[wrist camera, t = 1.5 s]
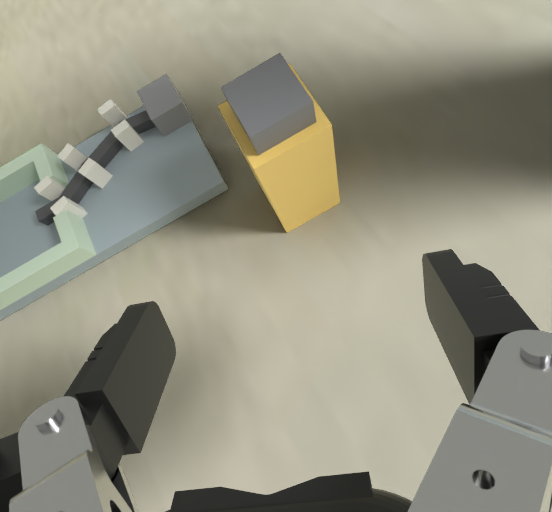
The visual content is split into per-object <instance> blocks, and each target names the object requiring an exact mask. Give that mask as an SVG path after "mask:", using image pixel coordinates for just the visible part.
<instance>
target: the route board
mask: <svg viewBox="0 0 552 512" xmlns="http://www.w3.org/2000/svg"><path fill="white" fill-rule="evenodd" d="M137 93H138V95H139V97H140V99H141V101H142V103H143V105H144V106H142V107H141V108H139V109H137V110H136V111H134V112H132V113H131V114H129V115H127V116H126V115H125V114H124V113H123V112H122V111H121V110H120V109H119V108H118V106H117V105H116V104H115V103H114V102H113V101H112V100H111V99H110V100H108V101H107V102H106V103H104V104H103V105H102V106H100V107H99V108H98V109H97V110H98V112H99V113H100V115H101V116H102V117H103V118H104V119H105V120H106V121H107V122H108V123H109V124H110V126H108V127H107V128H105V129H103V130H102V131H100V132H98V133H97V134H95V135H93V136H92V137H90V138H88V139H86V140H85V141H83V142H81V143H80V144H78V145H76V146H75V147H73V146H71V145H70V144H68V143H67V145H66V146H65V147H64V148H63V150H62V151H61V152H60V153H59V155H58V154H56V153H55V152H53V151H52V150H51V149H49V148H48V147H46V146H45V145H44V144H42V143H41V144H39V145H37V146H36V147H34V148H32V149H31V150H29V151H27V152H26V153H24V154H22V155H20V156H19V157H17V158H15V159H14V160H12V161H10V162H9V163H7V164H5V165H4V166H2V167H0V320H2V319H4V318H6V317H7V316H9V315H11V314H13V313H14V312H16V311H18V310H20V309H21V308H23V307H25V306H26V305H28V304H30V303H32V302H33V301H35V300H37V299H39V298H40V297H42V296H44V295H46V294H47V293H49V292H51V291H53V290H54V289H56V288H58V287H59V286H61V285H63V284H65V283H66V282H68V281H70V280H72V279H73V278H75V277H77V276H79V275H80V274H82V273H84V272H86V271H87V270H89V269H91V268H92V267H94V266H96V265H98V264H99V263H101V262H103V261H105V260H106V259H108V258H110V257H112V256H113V255H115V254H117V253H119V252H120V251H122V250H124V249H125V248H127V247H129V246H131V245H132V244H134V243H136V242H138V241H139V240H141V239H143V238H145V237H146V236H148V235H150V234H152V233H153V232H155V231H157V230H158V229H160V228H162V227H164V226H165V225H167V224H169V223H171V222H172V221H174V220H176V219H178V218H179V217H181V216H183V215H185V214H186V213H188V212H190V211H191V210H193V209H195V208H197V207H198V206H200V205H202V204H204V203H205V202H207V201H209V200H211V199H212V198H214V197H216V196H218V195H219V194H221V193H223V192H225V191H226V190H228V189H229V188H228V187H227V185H226V183H225V181H224V179H223V177H222V175H221V174H220V172H219V170H218V168H217V166H216V164H215V162H214V161H213V159H212V157H211V155H210V153H209V151H208V149H207V148H206V146H205V144H204V142H203V140H202V138H201V136H200V134H199V133H198V131H197V129H196V127H195V125H194V123H193V121H192V120H193V118H192V116H191V114H190V112H189V111H188V109H187V107H186V105H185V103H184V101H183V99H182V98H181V96H180V94H179V92H178V90H177V89H176V87H175V86H174V84H173V83H172V81H171V80H170V78H169V77H168V75H167V74H166V75H164V76H162V77H160V78H159V79H157V80H155V81H154V82H152V83H150V84H149V85H147V86H145V87H144V88H142V89H140V90H139V91H137Z"/></svg>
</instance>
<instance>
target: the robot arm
mask: <svg viewBox="0 0 552 512" xmlns="http://www.w3.org/2000/svg"><path fill="white" fill-rule="evenodd" d="M422 262H423V277H424V291H425V302H426V308H427V312H428V316H429V319H430V321H431V323H432V325H433V328H434V330H435V332H436V334H437V336H438V338H439V340H440V343H441V345H442V347H443V349H444V351H445V353H446V355H447V357H448V360H449V362H450V364H451V366H452V368H453V370H454V372H455V375H456V377H457V379H458V381H459V383H460V385H461V387H462V389H463V392H464V394H465V396H466V398H467V400H468V402H469V404H470V405H467V404H465V403H462V404H461V405H460V406H459V407H458V409H457V410H456V412H455V414H454V416H453V418H452V420H451V423H450V425H449V427H448V429H447V431H446V433H445V435H444V437H443V439H442V441H441V443H440V445H439V447H438V450H437V452H436V454H435V456H434V458H433V460H432V462H431V464H430V466H429V468H428V470H427V472H426V474H425V476H424V479H423V481H422V483H421V485H420V487H419V489H418V491H417V493H416V495H415V497H414V499H413V501H410V500H409V499H406V498H404V497H402V496H399V495H397V494H394V493H391V492H387V491H384V490H379V489H373V488H372V485H371V480H370V475H369V472H361V473H351V474H341V475H332V476H322V477H317V478H314V479H311V480H309V481H306V482H303V483H301V484H298V485H295V486H292V487H290V488H287V489H284V490H282V491H279V492H276V493H273V494H270V495H262V494H256V493H251V492H245V491H240V490H234V489H229V488H223V487H215V488H205V489H195V490H185V491H176V492H175V494H174V498H173V502H172V506H171V509H170V510H168V511H166V512H552V333H548V332H544V331H540V330H539V329H538V328H537V326H536V325H535V324H534V323H533V322H532V320H531V319H530V318H529V317H528V315H527V314H526V313H525V312H524V311H523V309H522V308H521V307H520V306H519V304H518V303H517V302H516V301H515V300H514V298H513V297H512V296H510V295H509V292H508V291H507V290H506V289H505V287H504V286H502V285H501V283H500V281H499V280H498V279H497V278H496V276H495V275H494V274H493V273H492V272H491V271H489V270H487V269H485V268H484V267H482V266H480V265H478V264H476V263H473V264H468V265H463V264H462V262H461V261H460V260H459V258H458V257H457V255H456V254H455V253H454V251H453V250H452V249H449V250H443V251H438V252H432V253H426V254H423V258H422ZM175 355H176V348H175V342H174V339H173V337H172V335H171V332H170V330H169V328H168V326H167V324H166V321H165V319H164V317H163V315H162V313H161V310H160V308H159V306H158V305H157V303H155V302H154V301H151V302H145V303H140V304H134V305H130V306H128V307H127V308H126V310H125V312H124V313H123V315H122V317H121V318H120V320H119V322H118V323H117V324H114V325H113V326H112V327H111V328H110V329H109V330H108V331H107V332H106V333H105V334H104V335H103V336H102V337H101V338H100V340H99V342H98V343H97V345H96V346H95V348H94V351H92V353H91V354H90V356H89V357H88V361H87V362H85V364H84V365H83V367H82V368H81V370H80V372H79V373H78V375H77V376H76V378H75V379H74V381H73V383H72V384H71V386H70V387H69V389H68V390H67V392H66V394H65V395H64V397H59V398H56V399H53V400H51V401H49V402H47V403H45V404H43V405H42V406H40V407H39V408H38V409H36V410H35V411H34V412H33V413H32V414H31V415H30V416H29V417H28V418H27V419H26V420H25V421H24V423H23V424H22V426H21V428H20V430H19V432H18V433H15V434H12V435H10V436H7V437H5V438H2V439H0V512H139V511H138V509H137V506H136V503H135V501H134V498H133V495H132V493H131V490H130V487H129V485H128V482H127V479H126V477H125V474H124V471H123V470H122V468H121V466H120V465H119V462H120V460H121V457H122V455H126V454H135V453H141V450H142V447H143V444H144V442H145V439H146V436H147V434H148V431H149V428H150V425H151V423H152V420H153V417H154V414H155V412H156V409H157V406H158V404H159V401H160V398H161V395H162V393H163V390H164V387H165V384H166V382H167V379H168V376H169V374H170V371H171V368H172V365H173V363H174V360H175Z"/></svg>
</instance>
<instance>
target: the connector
mask: <svg viewBox="0 0 552 512" xmlns="http://www.w3.org/2000/svg"><path fill="white" fill-rule="evenodd" d="M221 89H222V91H223V93H224V95H225V97H226V99H227V101H225V102H224V103H222V104H220V105H218V108H219V110H220V112H221V114H222V116H223V118H224V119H225V121H226V123H227V125H228V127H229V129H230V131H231V133H232V134H233V136H234V138H235V140H236V142H237V144H238V146H239V148H240V149H241V151H242V153H243V155H244V157H245V159H246V161H247V163H248V164H249V166H250V168H251V170H252V172H253V174H254V176H255V178H256V179H257V181H258V183H259V185H260V187H261V189H262V190H263V192H264V194H265V196H266V197H267V199H268V201H269V203H270V204H271V206H272V208H273V210H274V211H275V213H276V215H277V217H278V218H279V220H280V222H281V224H282V225H283V227H284V229H285V231H286V232H287V233H288V232H290V231H291V230H293V229H295V228H297V227H299V226H300V225H302V224H304V223H306V222H307V221H309V220H311V219H313V218H314V217H316V216H318V215H320V214H321V213H323V212H325V211H327V210H329V209H330V208H332V207H334V206H336V205H337V204H339V203H340V197H339V187H338V178H337V168H336V159H335V149H334V140H333V130H332V124H331V123H330V121H329V120H328V118H327V117H326V115H325V114H324V112H323V111H322V109H321V108H320V107H319V105H318V104H317V102H316V101H315V99H314V98H313V96H312V95H311V93H310V92H309V91H308V89H307V88H306V86H305V85H304V83H303V82H302V80H301V79H300V77H299V76H298V75H297V73H296V72H295V70H294V69H293V67H292V66H291V64H289V65H288V64H287V62H286V61H285V59H284V58H283V57H282V55H281V54H280V53H279V54H277V55H275V56H274V57H272V58H270V59H269V60H267V61H265V62H263V63H262V64H260V65H258V66H257V67H255V68H253V69H251V70H250V71H248V72H246V73H245V74H243V75H241V76H240V77H238V78H236V79H234V80H233V81H231V82H229V83H228V84H226V85H224V86H223V87H221Z"/></svg>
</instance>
